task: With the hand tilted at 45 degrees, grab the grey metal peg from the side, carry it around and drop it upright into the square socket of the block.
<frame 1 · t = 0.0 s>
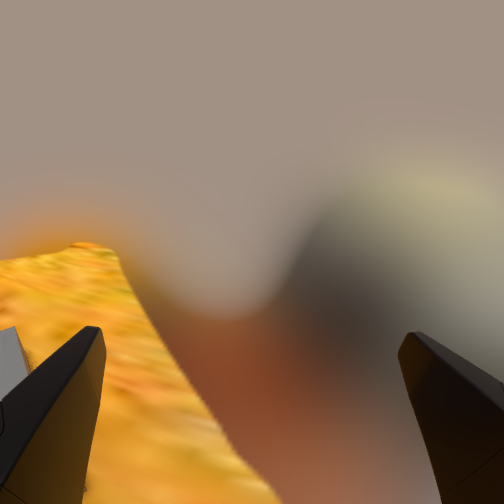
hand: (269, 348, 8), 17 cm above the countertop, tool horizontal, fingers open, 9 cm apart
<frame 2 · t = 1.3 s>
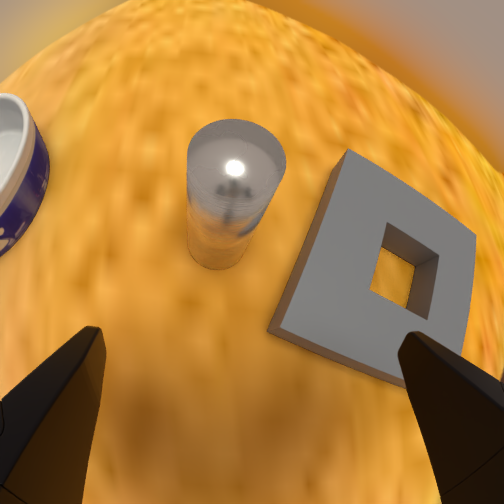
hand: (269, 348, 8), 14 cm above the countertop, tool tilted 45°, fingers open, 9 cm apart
peg: (216, 241, 23), on the countertop
socket block: (384, 281, 25), on the countertop
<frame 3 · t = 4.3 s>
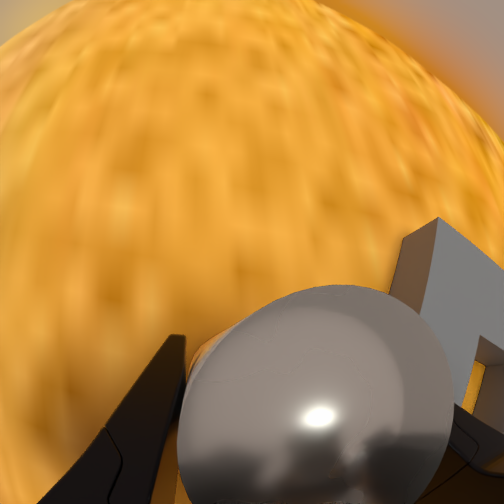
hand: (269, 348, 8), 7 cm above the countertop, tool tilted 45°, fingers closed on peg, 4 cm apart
peg: (235, 377, 14), on the countertop, touching gripper
socket block: (453, 396, 15), on the countertop
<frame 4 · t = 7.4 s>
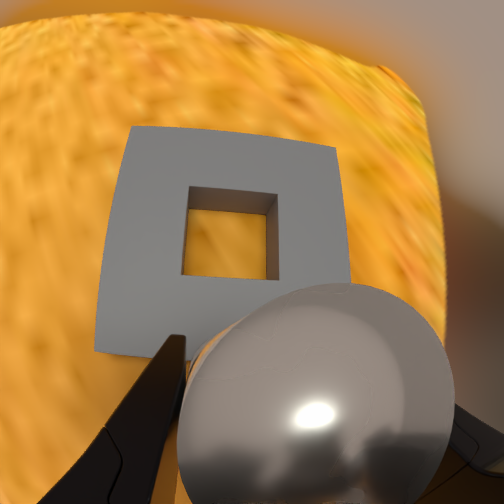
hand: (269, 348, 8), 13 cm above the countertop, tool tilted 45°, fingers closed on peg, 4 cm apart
peg: (235, 376, 14), point 7 cm above the countertop, touching gripper
socket block: (226, 248, 23), on the countertop
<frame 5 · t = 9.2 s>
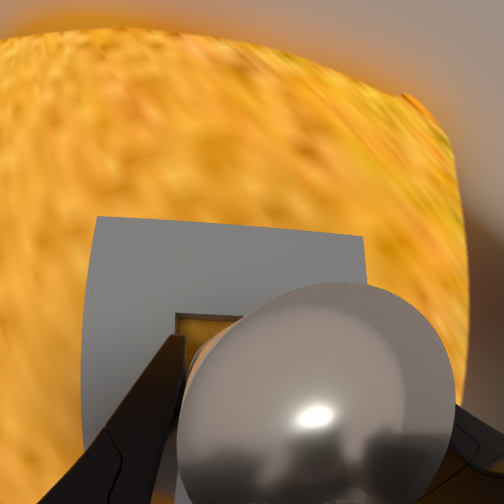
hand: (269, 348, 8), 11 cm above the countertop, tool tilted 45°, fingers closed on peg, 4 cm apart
peg: (235, 376, 14), point 5 cm above the countertop, touching gripper
socket block: (225, 368, 18), on the countertop
when the fingers open (8 cm above the countertop, at t = 10.6 s): peg drops 1 cm, resting in socket block.
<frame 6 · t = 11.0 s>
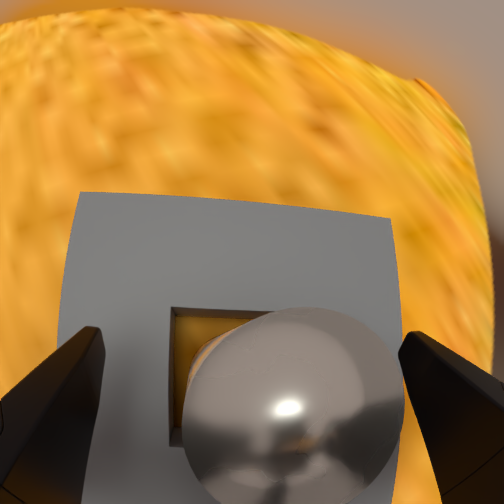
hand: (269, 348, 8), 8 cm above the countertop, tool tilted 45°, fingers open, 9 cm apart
peg: (231, 375, 15), resting in socket block
socket block: (231, 374, 15), on the countertop
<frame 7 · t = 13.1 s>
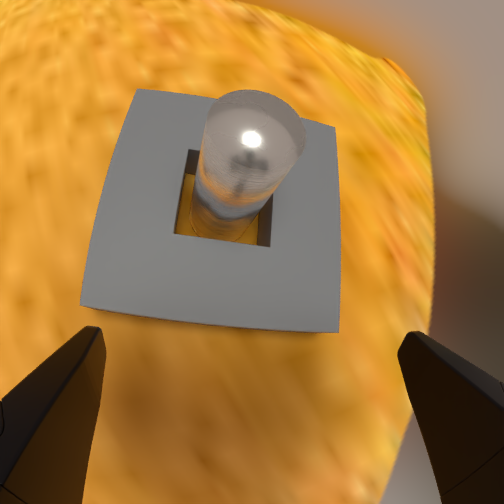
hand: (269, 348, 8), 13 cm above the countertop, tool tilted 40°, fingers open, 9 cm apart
peg: (219, 215, 23), resting in socket block
socket block: (219, 214, 23), on the countertop
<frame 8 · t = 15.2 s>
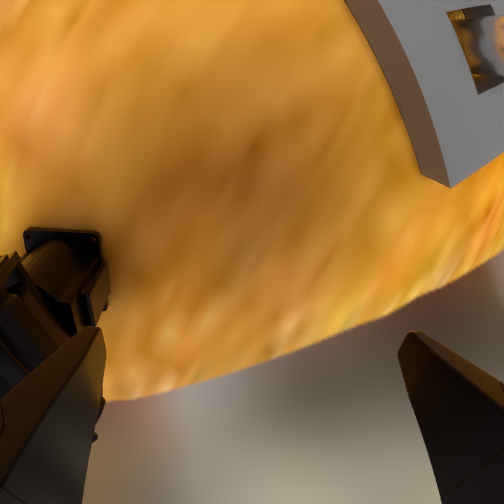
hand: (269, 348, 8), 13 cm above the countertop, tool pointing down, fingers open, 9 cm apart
peg: (455, 47, 15), resting in socket block
socket block: (455, 47, 15), on the countertop
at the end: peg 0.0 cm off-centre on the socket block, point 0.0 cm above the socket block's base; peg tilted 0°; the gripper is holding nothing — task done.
